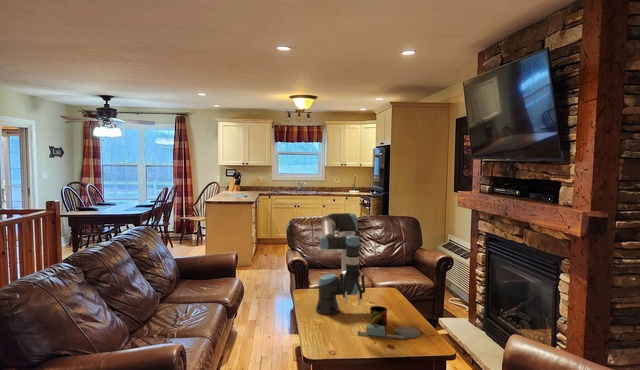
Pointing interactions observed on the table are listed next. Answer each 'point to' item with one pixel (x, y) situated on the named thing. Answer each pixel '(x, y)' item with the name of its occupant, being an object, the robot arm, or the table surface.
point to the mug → (378, 316)
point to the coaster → (407, 332)
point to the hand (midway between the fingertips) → (352, 304)
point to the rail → (383, 336)
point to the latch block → (375, 330)
